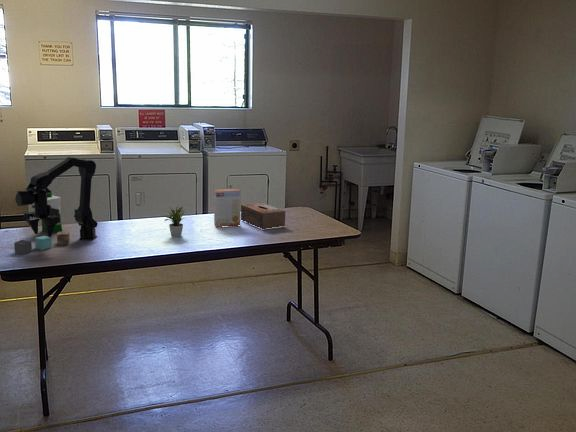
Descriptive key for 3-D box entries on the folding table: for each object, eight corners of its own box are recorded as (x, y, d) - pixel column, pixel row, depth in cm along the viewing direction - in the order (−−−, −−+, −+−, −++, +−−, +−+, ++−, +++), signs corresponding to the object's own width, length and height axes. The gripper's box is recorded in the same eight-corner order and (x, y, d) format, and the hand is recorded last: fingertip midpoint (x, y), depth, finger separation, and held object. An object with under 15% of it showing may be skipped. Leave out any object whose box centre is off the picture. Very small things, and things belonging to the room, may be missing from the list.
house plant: (169, 231, 294) (168, 201, 291) (193, 233, 292) (193, 203, 288) (157, 237, 281) (157, 206, 277) (183, 240, 278) (183, 208, 275)
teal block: (51, 247, 258) (51, 237, 257) (42, 249, 254) (41, 239, 253) (44, 245, 261) (43, 235, 260) (35, 248, 256) (34, 237, 255)
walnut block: (69, 241, 269) (69, 231, 268) (68, 244, 265) (68, 234, 264) (58, 241, 268) (58, 231, 267) (57, 244, 263) (56, 234, 262)
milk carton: (54, 228, 293) (51, 191, 288) (65, 230, 288) (62, 193, 284) (39, 231, 286) (36, 193, 281) (50, 234, 281) (47, 195, 277)
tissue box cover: (284, 228, 311) (285, 211, 309) (262, 230, 303) (263, 213, 301) (261, 218, 332) (262, 202, 330) (240, 221, 324) (241, 204, 322)
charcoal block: (32, 251, 251) (31, 240, 250) (24, 254, 247) (23, 243, 246) (22, 250, 253) (22, 239, 251) (14, 253, 248) (14, 242, 247)
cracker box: (237, 224, 315) (238, 188, 311) (240, 226, 310) (241, 190, 305) (213, 225, 310) (213, 189, 306) (216, 228, 305) (216, 191, 300)
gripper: (69, 202, 255) (71, 235, 259) (42, 197, 264) (44, 229, 267) (48, 206, 246) (51, 240, 249) (21, 201, 254) (24, 234, 258)
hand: (43, 235), depth 256 cm, fingers open, 9 cm apart
